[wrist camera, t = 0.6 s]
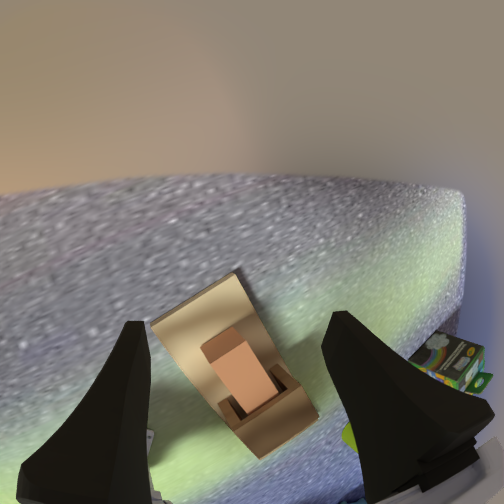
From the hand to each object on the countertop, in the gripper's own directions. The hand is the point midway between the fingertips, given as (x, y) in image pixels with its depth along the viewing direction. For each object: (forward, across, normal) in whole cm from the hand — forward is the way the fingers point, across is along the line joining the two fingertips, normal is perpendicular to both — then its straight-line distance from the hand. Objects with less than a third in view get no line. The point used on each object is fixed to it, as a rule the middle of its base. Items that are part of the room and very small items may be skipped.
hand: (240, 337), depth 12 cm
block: (+12, -4, +21) cm, 24 cm away
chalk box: (+17, -39, +31) cm, 52 cm away
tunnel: (+11, -6, +24) cm, 27 cm away
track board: (+13, -4, +22) cm, 26 cm away
